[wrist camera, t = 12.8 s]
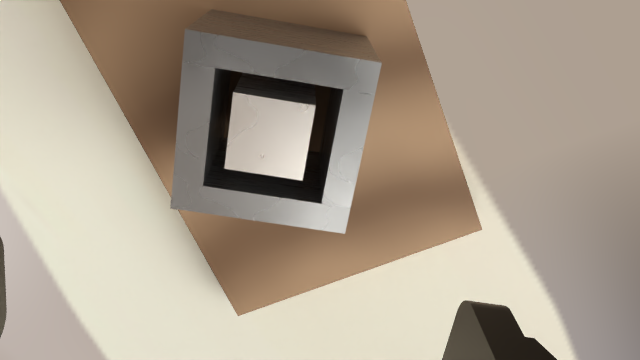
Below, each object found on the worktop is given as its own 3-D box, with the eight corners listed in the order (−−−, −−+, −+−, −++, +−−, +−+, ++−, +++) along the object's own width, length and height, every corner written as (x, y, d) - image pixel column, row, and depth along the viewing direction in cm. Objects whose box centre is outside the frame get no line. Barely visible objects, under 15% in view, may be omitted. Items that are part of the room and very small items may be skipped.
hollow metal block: (366, 36, 22) (382, 62, 18) (338, 177, 24) (344, 234, 20) (211, 8, 22) (184, 29, 17) (197, 155, 24) (170, 208, 19)
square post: (314, 70, 23) (315, 105, 18) (304, 131, 24) (302, 180, 19) (249, 58, 23) (233, 92, 18) (241, 121, 24) (224, 168, 19)
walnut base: (473, 214, 27) (481, 229, 26) (241, 297, 29) (238, 315, 27) (331, -207, 20) (333, -217, 19) (39, -68, 22) (21, -68, 21)
